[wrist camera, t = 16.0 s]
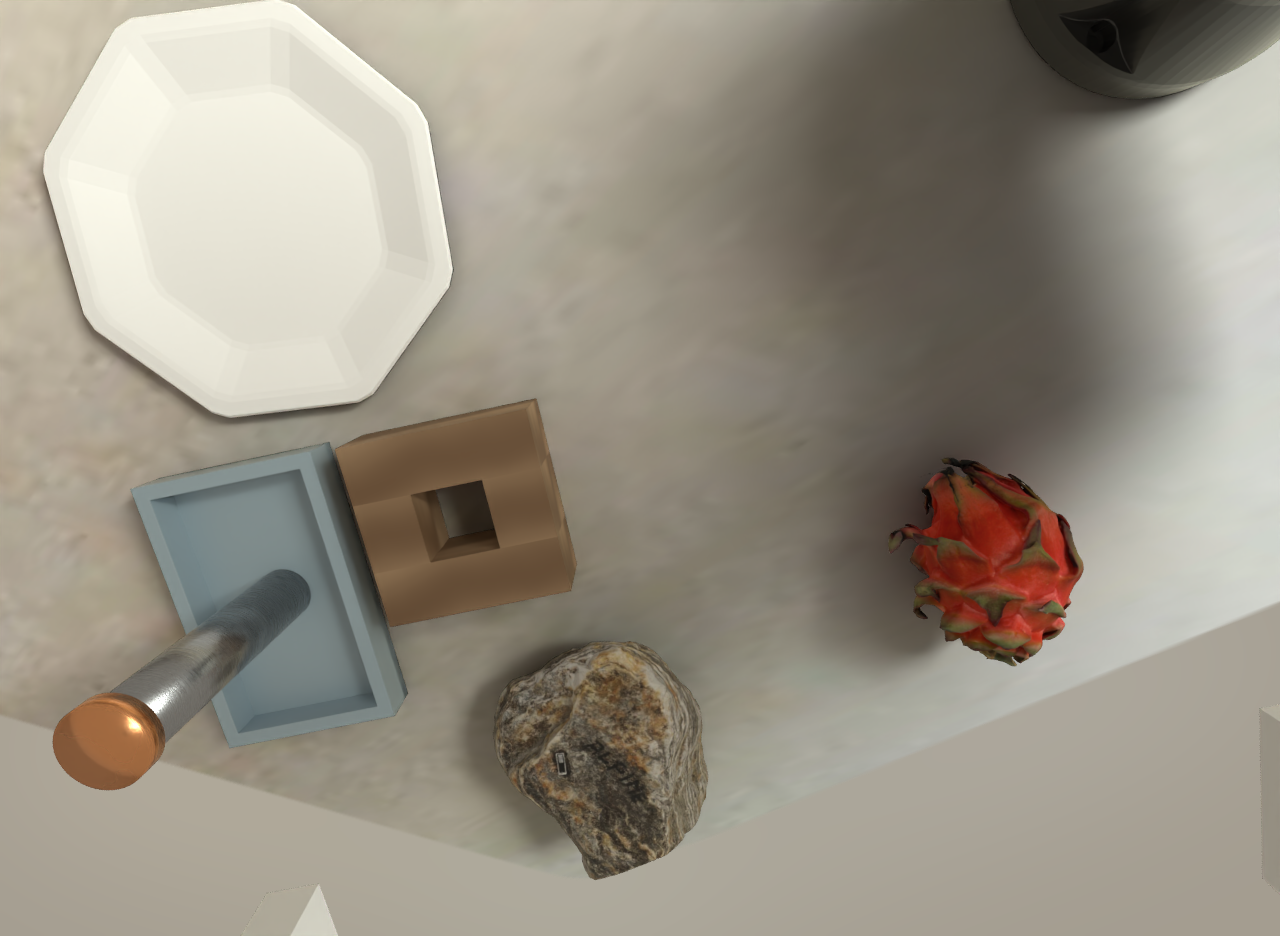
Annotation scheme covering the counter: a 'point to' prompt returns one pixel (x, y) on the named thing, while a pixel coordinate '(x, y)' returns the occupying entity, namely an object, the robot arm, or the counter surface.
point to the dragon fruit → (992, 562)
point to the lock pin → (174, 686)
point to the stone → (606, 752)
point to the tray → (253, 547)
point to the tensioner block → (414, 525)
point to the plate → (249, 208)
